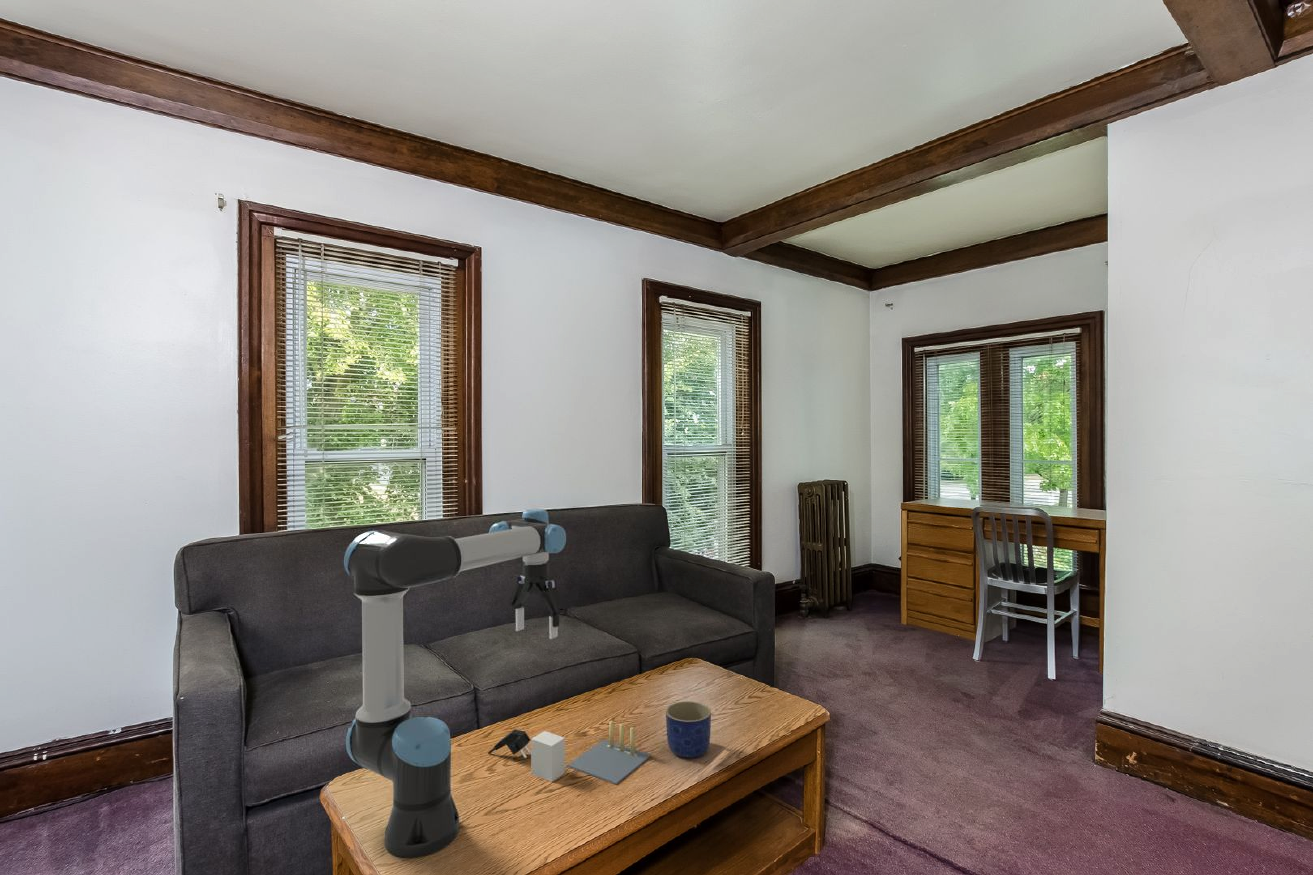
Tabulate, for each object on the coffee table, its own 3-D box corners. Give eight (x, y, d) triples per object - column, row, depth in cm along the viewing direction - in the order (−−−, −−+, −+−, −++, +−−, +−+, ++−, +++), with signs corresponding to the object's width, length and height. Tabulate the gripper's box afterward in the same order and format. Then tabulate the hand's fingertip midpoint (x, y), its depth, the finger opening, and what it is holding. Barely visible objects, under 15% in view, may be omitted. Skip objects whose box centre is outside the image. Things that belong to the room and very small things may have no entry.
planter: (720, 749, 168) (720, 709, 168) (691, 767, 159) (691, 725, 159) (686, 734, 177) (685, 697, 177) (656, 751, 168) (656, 711, 168)
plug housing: (551, 781, 153) (551, 746, 153) (531, 773, 157) (531, 738, 157) (565, 772, 157) (564, 737, 157) (544, 764, 161) (544, 730, 161)
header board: (616, 784, 152) (615, 754, 152) (567, 766, 160) (566, 738, 160) (651, 755, 165) (651, 728, 165) (604, 740, 174) (604, 714, 174)
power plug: (491, 745, 170) (523, 721, 168) (507, 768, 169) (539, 744, 167) (482, 755, 164) (514, 731, 162) (498, 779, 163) (531, 755, 161)
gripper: (576, 564, 177) (577, 637, 177) (515, 555, 191) (515, 623, 191) (558, 569, 171) (559, 644, 171) (496, 559, 185) (497, 629, 185)
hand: (536, 633), depth 181 cm, fingers open, 13 cm apart
